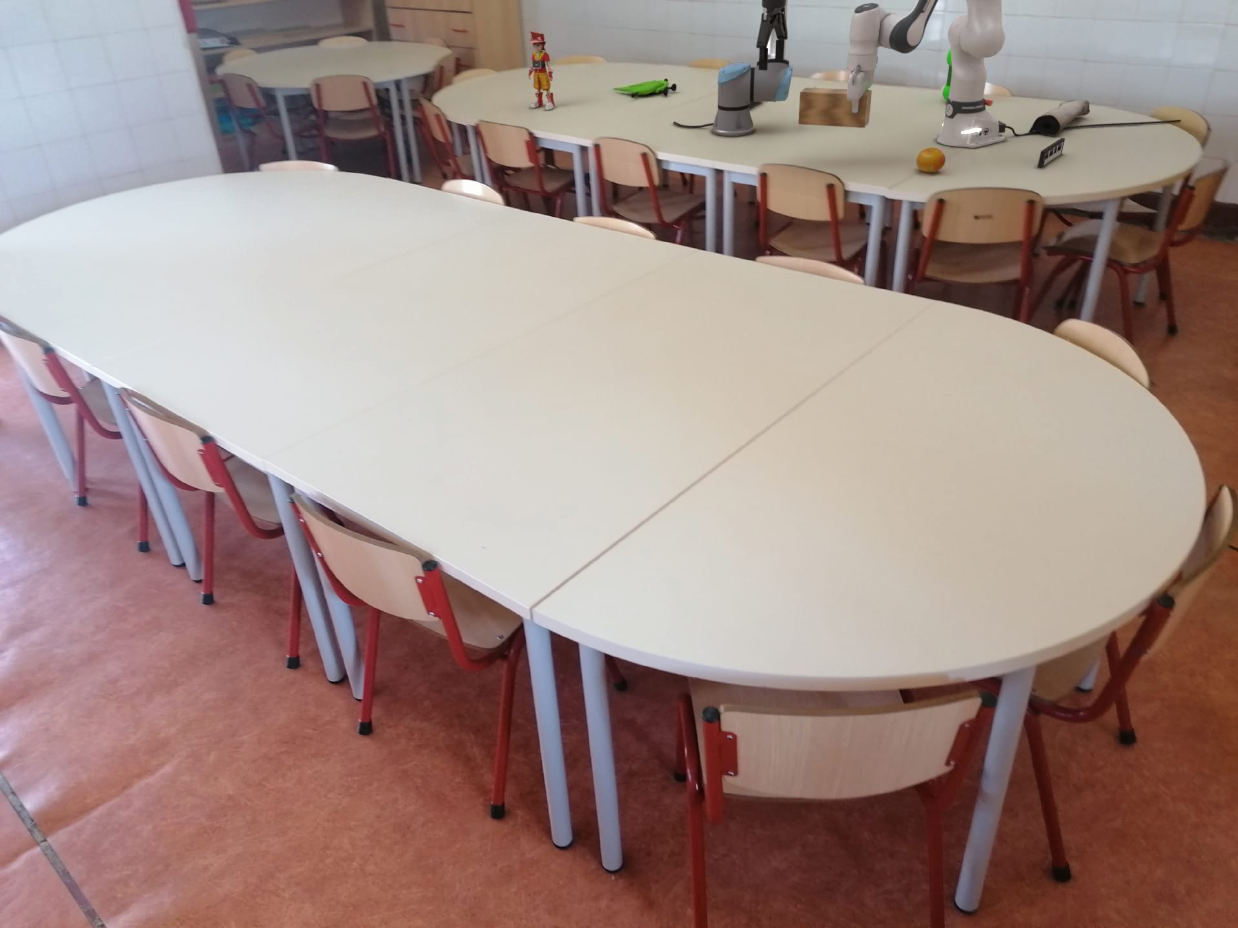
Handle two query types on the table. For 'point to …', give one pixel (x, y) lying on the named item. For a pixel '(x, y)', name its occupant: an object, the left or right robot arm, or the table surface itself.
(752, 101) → the left robot arm
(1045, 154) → the midi keyboard
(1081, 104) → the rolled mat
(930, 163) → the fruit
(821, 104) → the box
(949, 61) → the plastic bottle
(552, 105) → the toy
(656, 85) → the toy
